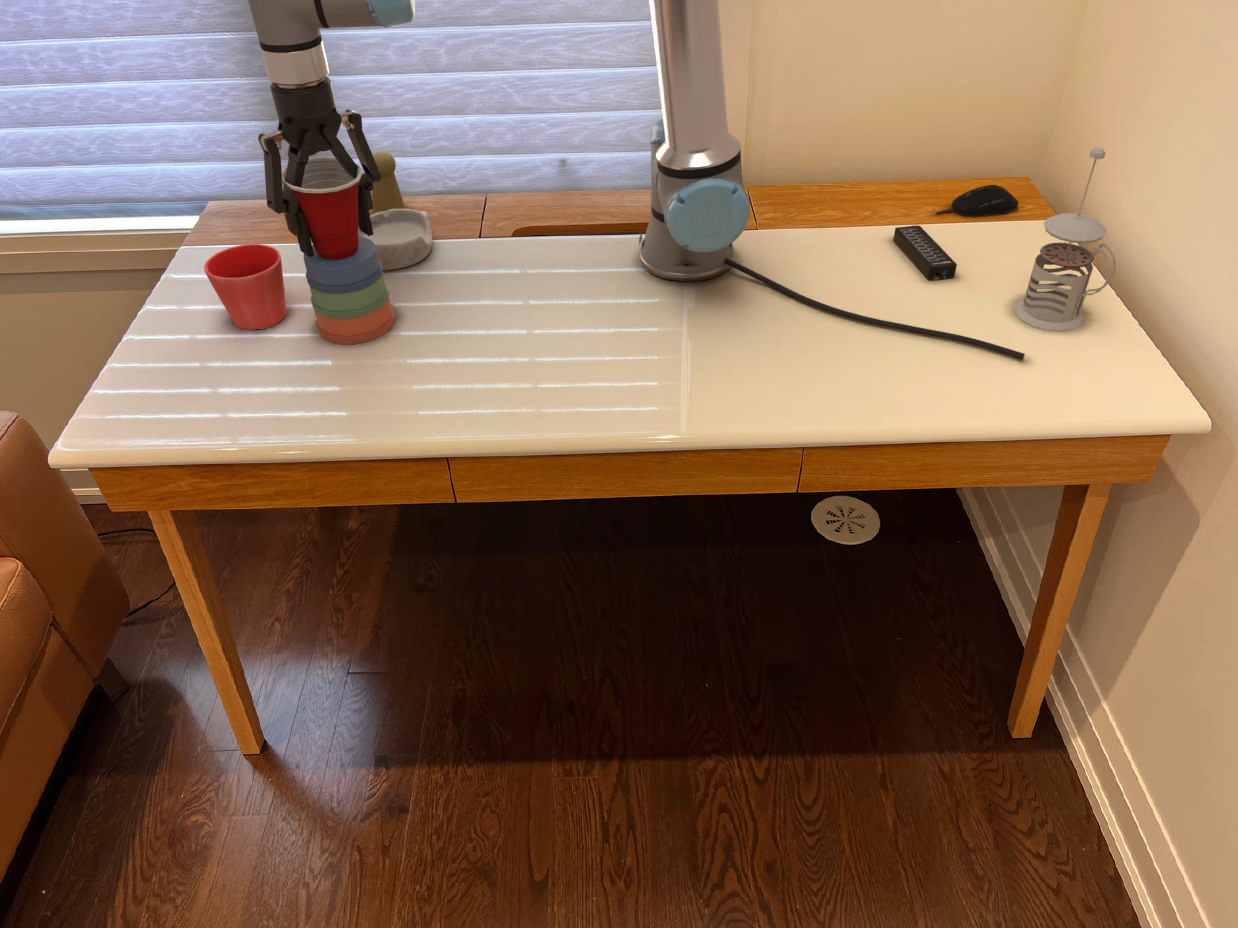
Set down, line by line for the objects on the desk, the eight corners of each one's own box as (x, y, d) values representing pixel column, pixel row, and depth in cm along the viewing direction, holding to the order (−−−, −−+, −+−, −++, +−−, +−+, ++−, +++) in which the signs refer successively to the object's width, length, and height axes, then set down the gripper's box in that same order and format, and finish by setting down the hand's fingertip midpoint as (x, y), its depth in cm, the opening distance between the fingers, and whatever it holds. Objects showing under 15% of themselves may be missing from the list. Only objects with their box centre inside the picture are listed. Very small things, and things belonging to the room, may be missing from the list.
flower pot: (258, 343, 140) (239, 284, 133) (208, 324, 144) (188, 266, 138) (311, 311, 146) (295, 253, 140) (262, 293, 151) (245, 237, 145)
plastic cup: (359, 272, 131) (341, 189, 123) (287, 266, 132) (264, 184, 125) (389, 236, 139) (373, 156, 131) (321, 231, 140) (301, 152, 133)
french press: (1033, 290, 146) (1079, 128, 130) (1108, 316, 139) (1166, 150, 123) (1001, 314, 141) (1045, 149, 125) (1077, 343, 134) (1134, 173, 118)
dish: (429, 229, 167) (425, 202, 164) (443, 264, 157) (439, 236, 154) (346, 243, 164) (340, 216, 161) (355, 279, 154) (349, 251, 151)
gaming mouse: (928, 206, 169) (933, 185, 167) (1005, 197, 171) (1010, 176, 169) (944, 221, 164) (949, 199, 162) (1023, 212, 166) (1029, 190, 164)
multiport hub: (917, 237, 160) (919, 224, 159) (955, 278, 149) (958, 265, 148) (892, 240, 160) (894, 227, 158) (928, 281, 149) (931, 268, 147)
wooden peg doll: (403, 220, 170) (392, 161, 163) (370, 221, 170) (357, 162, 163) (409, 206, 175) (399, 147, 168) (377, 206, 175) (365, 148, 168)
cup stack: (410, 324, 143) (396, 252, 135) (341, 353, 137) (322, 279, 129) (371, 296, 149) (355, 225, 142) (303, 323, 144) (284, 251, 136)
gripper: (359, 54, 128) (389, 211, 142) (206, 92, 117) (255, 258, 132) (388, 66, 123) (416, 227, 138) (231, 107, 113) (279, 277, 127)
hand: (337, 242), depth 135 cm, fingers closed on plastic cup, 9 cm apart
